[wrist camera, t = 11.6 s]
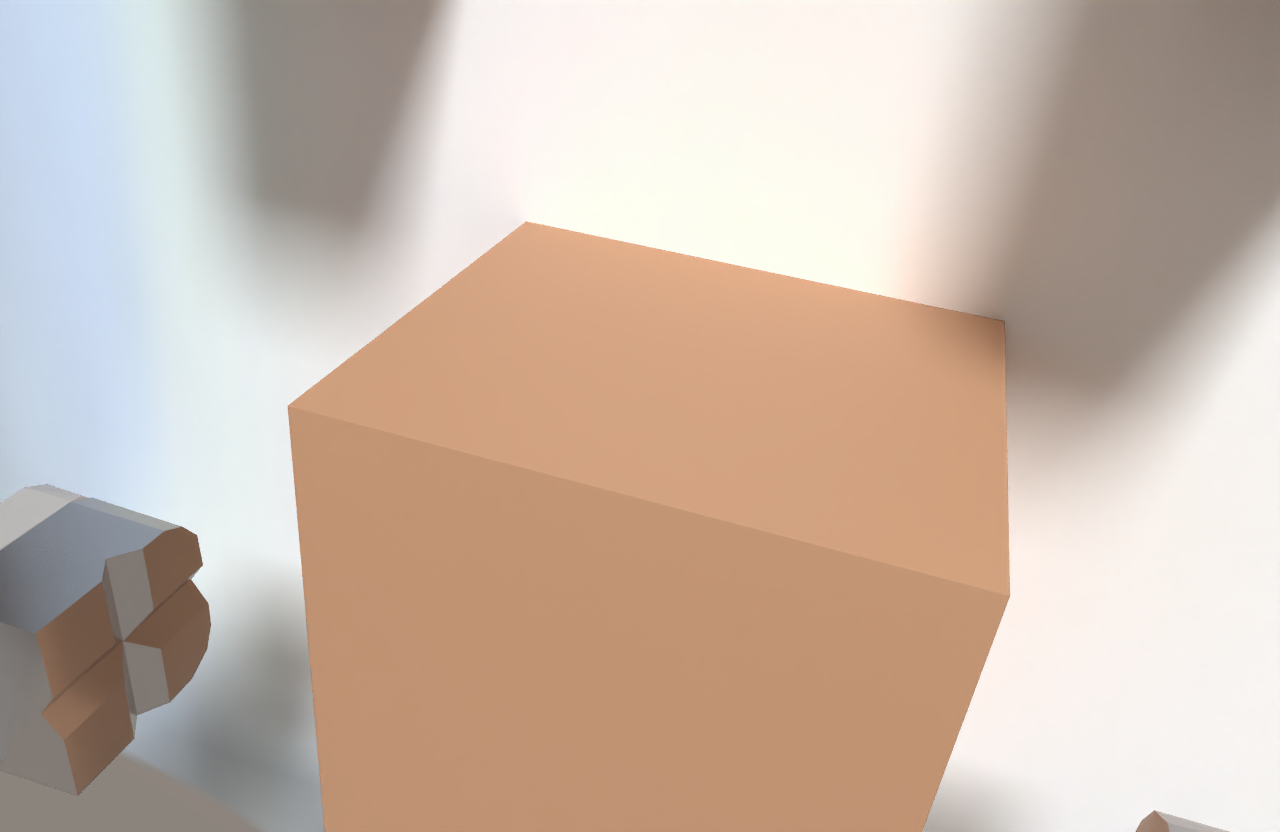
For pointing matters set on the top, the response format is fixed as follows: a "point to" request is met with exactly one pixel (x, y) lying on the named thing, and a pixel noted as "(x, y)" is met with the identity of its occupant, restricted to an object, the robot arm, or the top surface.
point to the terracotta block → (649, 549)
